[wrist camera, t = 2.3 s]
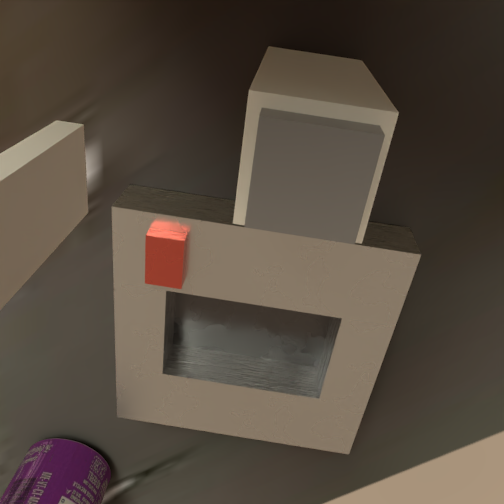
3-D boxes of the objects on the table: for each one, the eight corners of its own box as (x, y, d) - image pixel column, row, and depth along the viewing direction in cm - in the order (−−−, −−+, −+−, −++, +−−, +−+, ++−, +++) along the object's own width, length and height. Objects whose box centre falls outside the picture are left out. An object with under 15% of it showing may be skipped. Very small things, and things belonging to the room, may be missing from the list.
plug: (268, 46, 23) (245, 97, 13) (361, 60, 23) (405, 121, 13) (256, 137, 25) (229, 237, 16) (340, 150, 25) (365, 258, 16)
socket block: (129, 184, 27) (106, 213, 24) (409, 227, 27) (424, 263, 24) (130, 384, 35) (113, 426, 32) (345, 418, 35) (349, 464, 32)
